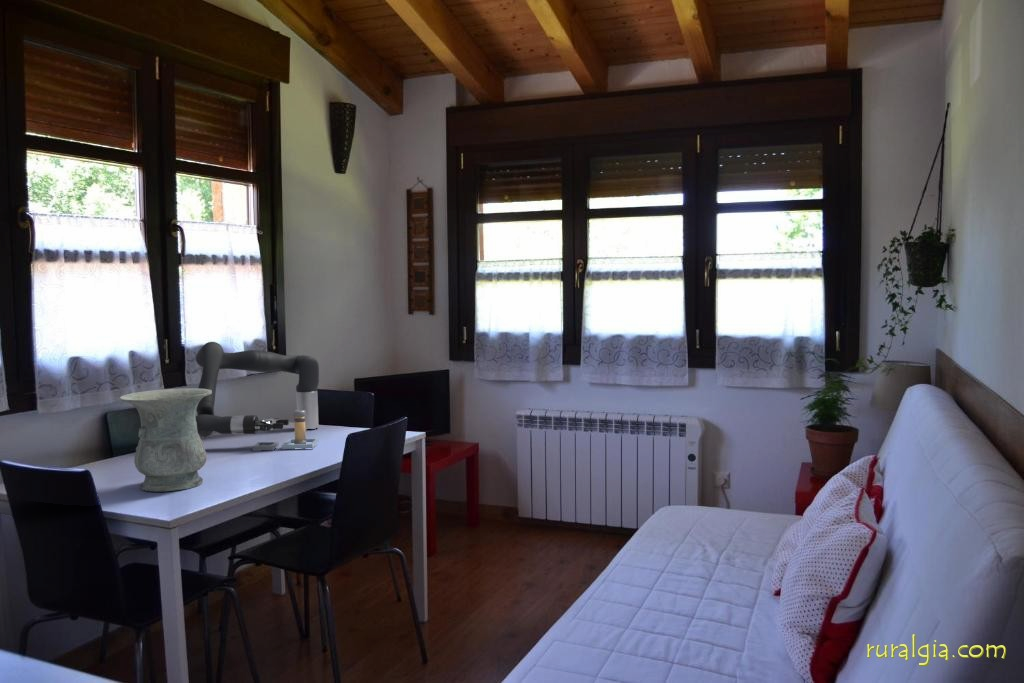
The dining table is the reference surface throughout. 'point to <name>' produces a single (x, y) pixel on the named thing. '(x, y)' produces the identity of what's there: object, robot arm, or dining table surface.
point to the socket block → (265, 446)
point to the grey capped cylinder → (299, 427)
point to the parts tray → (292, 446)
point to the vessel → (169, 438)
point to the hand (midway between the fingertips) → (285, 424)
